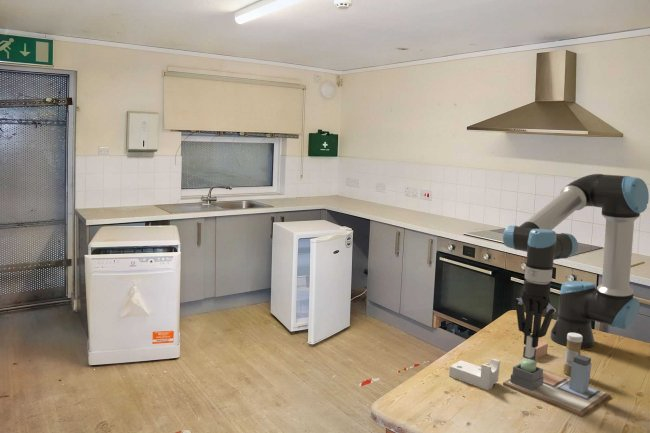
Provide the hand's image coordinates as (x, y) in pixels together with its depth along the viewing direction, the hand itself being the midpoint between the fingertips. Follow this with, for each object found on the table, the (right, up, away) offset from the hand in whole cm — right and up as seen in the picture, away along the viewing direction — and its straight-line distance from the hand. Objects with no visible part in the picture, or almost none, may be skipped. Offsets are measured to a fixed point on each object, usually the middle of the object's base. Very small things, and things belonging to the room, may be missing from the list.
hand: (529, 356), depth 165 cm
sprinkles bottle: (+18, -9, +12) cm, 24 cm away
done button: (0, -5, +1) cm, 5 cm away
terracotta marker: (+16, -4, +30) cm, 34 cm away
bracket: (-16, -9, +5) cm, 19 cm away
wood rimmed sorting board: (+8, -10, 0) cm, 13 cm away
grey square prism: (+14, -10, -2) cm, 17 cm away
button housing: (0, -10, +1) cm, 10 cm away
